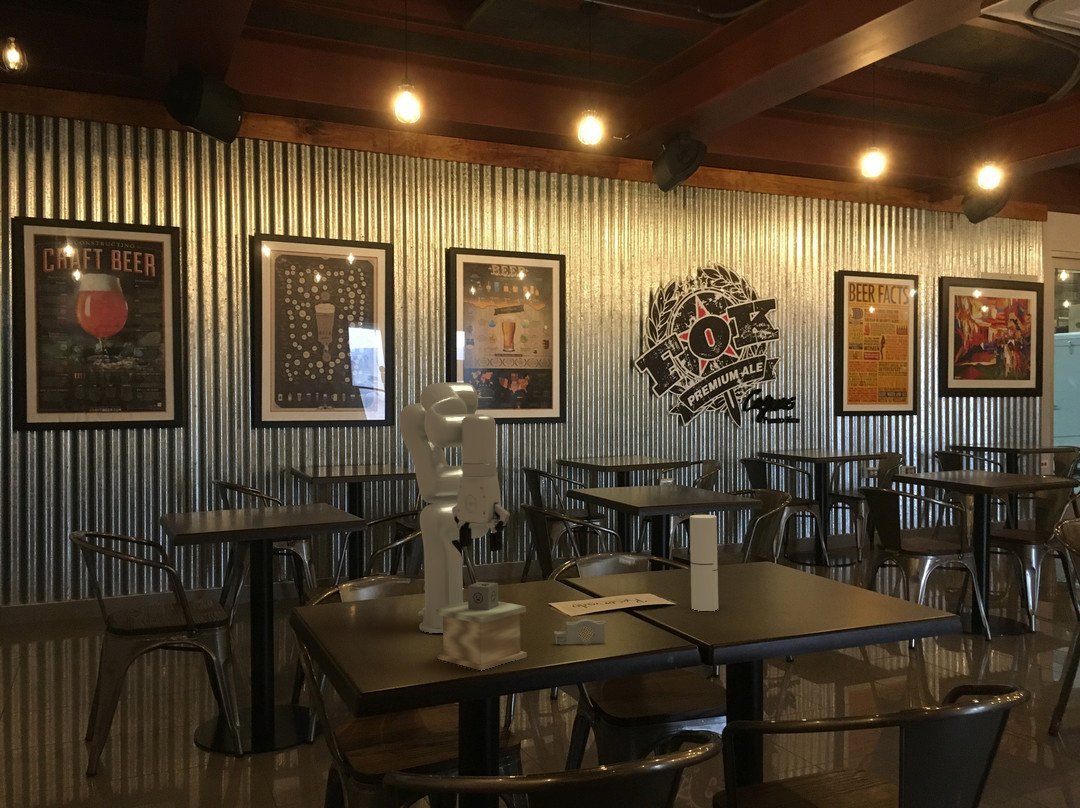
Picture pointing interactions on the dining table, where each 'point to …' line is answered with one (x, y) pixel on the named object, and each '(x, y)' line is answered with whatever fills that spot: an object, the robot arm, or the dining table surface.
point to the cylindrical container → (704, 562)
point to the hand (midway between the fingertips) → (480, 548)
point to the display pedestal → (481, 635)
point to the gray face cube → (483, 596)
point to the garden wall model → (575, 627)
